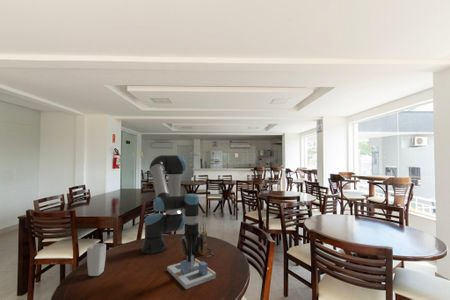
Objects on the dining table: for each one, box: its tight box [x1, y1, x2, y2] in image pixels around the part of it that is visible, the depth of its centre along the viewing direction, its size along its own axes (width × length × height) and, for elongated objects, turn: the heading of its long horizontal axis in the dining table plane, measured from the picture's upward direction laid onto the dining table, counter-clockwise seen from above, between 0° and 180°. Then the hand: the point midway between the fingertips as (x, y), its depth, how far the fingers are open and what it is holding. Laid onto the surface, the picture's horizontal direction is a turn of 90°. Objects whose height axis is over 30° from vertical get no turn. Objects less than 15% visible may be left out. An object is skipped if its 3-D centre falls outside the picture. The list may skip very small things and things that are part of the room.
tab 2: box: [199, 260, 209, 276], centre depth 117 cm, size 4×3×5 cm
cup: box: [86, 243, 107, 277], centre depth 120 cm, size 7×7×15 cm
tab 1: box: [180, 259, 189, 274], centre depth 118 cm, size 4×3×5 cm
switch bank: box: [166, 257, 217, 290], centre depth 120 cm, size 23×17×3 cm
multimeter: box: [199, 222, 215, 259], centre depth 147 cm, size 15×10×20 cm
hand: (191, 267), depth 120 cm, fingers closed
